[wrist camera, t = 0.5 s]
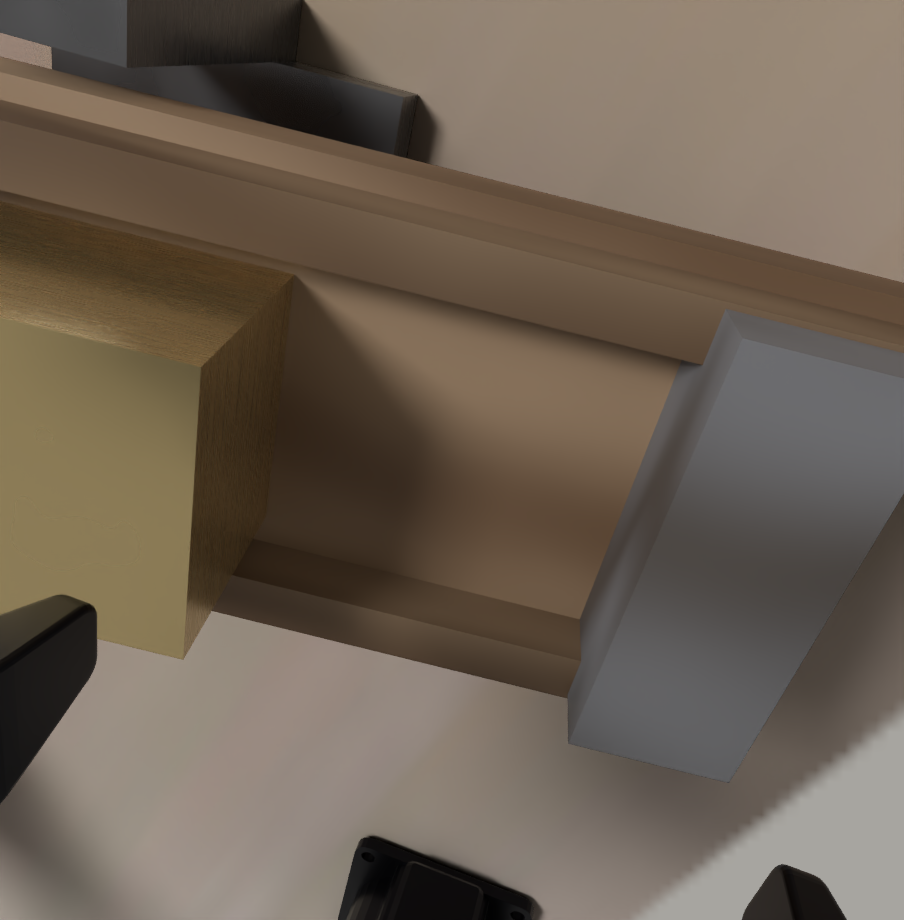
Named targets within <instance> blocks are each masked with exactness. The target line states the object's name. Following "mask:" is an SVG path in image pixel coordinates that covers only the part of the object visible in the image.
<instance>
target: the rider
mask: <svg viewBox="0 0 904 920" xmlns="http://www.w3.org/2000/svg"><path fill="white" fill-rule="evenodd" d="M293 282H294V274H291V273H287V272H283V271H279V270H275V269H271V268H267V267H263V266H259V265H255V264H251V263H247V262H243V261H239V260H235V259H231V258H227V257H223V256H219V255H215V254H211V253H207V252H203V251H199V250H195V249H191V248H187V247H183V246H179V245H175V244H171V243H167V242H163V241H159V240H154V239H150V238H146V237H142V236H138V235H134V234H130V233H126V232H122V231H118V230H114V229H110V228H106V227H102V226H98V225H94V224H90V223H86V222H82V221H78V220H74V219H70V218H66V217H62V216H58V215H54V214H50V213H46V212H42V211H38V210H34V209H30V208H26V207H22V206H18V205H14V204H10V203H6V202H2V201H0V615H1V614H3V613H6V612H9V611H12V610H15V609H17V608H20V607H23V606H26V605H29V604H31V603H34V602H37V601H40V600H43V599H45V598H48V597H51V596H54V595H60V594H63V595H68V596H71V597H74V598H76V599H79V600H82V601H84V602H87V603H90V604H91V605H93V606H94V607H95V609H96V611H97V639H101V640H105V641H109V642H113V643H117V644H121V645H125V646H129V647H133V648H137V649H142V650H146V651H150V652H154V653H158V654H162V655H166V656H170V657H174V658H178V659H182V660H183V659H184V657H185V656H186V654H187V652H188V651H189V649H190V647H191V645H192V644H193V642H194V640H195V638H196V637H197V635H198V633H199V632H200V630H201V628H202V626H203V625H204V623H205V621H206V619H207V618H208V616H209V614H210V613H211V611H212V609H213V607H214V606H215V604H216V602H217V600H218V599H219V597H220V595H221V594H222V592H223V590H224V588H225V587H226V585H227V583H228V581H229V580H230V578H231V576H232V574H233V573H234V571H235V569H236V568H237V566H238V564H239V562H240V561H241V559H242V557H243V555H244V554H245V552H246V550H247V549H248V547H249V545H250V543H251V542H252V540H253V538H254V536H255V535H256V533H257V531H258V530H259V528H260V526H261V524H262V523H263V521H264V519H265V517H266V510H267V502H268V493H269V485H270V477H271V468H272V460H273V451H274V443H275V434H276V426H277V417H278V409H279V400H280V392H281V384H282V375H283V367H284V358H285V350H286V341H287V333H288V324H289V316H290V307H291V299H292V291H293Z"/></svg>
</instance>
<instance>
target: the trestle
mask: <svg viewBox="0 0 904 920" xmlns="http://www.w3.org/2000/svg"><path fill="white" fill-rule="evenodd" d="M301 5H302V0H0V33H4V34H7V35H11V36H14V37H18V38H22V39H25V40H29V41H32V42H36V43H40V44H43V45H47V46H50V47H51V48H52V70H56V71H60V72H64V73H68V74H72V75H76V76H80V77H84V78H88V79H92V80H96V81H100V82H104V83H108V84H112V85H116V86H120V87H124V88H128V89H132V90H136V91H140V92H144V93H148V94H152V95H156V96H160V97H164V98H168V99H172V100H176V101H180V102H184V103H188V104H192V105H196V106H200V107H204V108H208V109H212V110H216V111H220V112H224V113H228V114H232V115H236V116H239V117H243V118H247V119H251V120H255V121H259V122H263V123H267V124H271V125H275V126H279V127H283V128H287V129H291V130H295V131H299V132H303V133H307V134H311V135H315V136H319V137H323V138H327V139H331V140H335V141H339V142H343V143H347V144H351V145H355V146H359V147H363V148H367V149H371V150H375V151H379V152H383V153H387V154H391V155H395V156H399V157H403V158H407V153H408V147H409V141H410V136H411V130H412V124H413V119H414V113H415V108H416V102H417V96H418V94H414V93H410V92H407V91H403V90H399V89H396V88H392V87H388V86H384V85H381V84H377V83H373V82H370V81H366V80H362V79H359V78H355V77H351V76H348V75H344V74H340V73H336V72H333V71H329V70H325V69H322V68H318V67H314V66H311V65H307V64H303V63H299V62H296V52H297V43H298V33H299V24H300V14H301Z"/></svg>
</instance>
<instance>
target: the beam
mask: <svg viewBox="0 0 904 920" xmlns="http://www.w3.org/2000/svg"><path fill="white" fill-rule="evenodd" d="M0 201H2V202H6V203H10V204H14V205H18V206H22V207H26V208H30V209H34V210H38V211H42V212H46V213H50V214H54V215H58V216H62V217H66V218H70V219H74V220H78V221H82V222H86V223H90V224H94V225H98V226H102V227H106V228H110V229H114V230H118V231H122V232H126V233H130V234H134V235H138V236H142V237H146V238H150V239H154V240H159V241H163V242H167V243H171V244H175V245H179V246H183V247H187V248H191V249H195V250H199V251H203V252H207V253H211V254H215V255H219V256H223V257H227V258H231V259H235V260H239V261H243V262H247V263H251V264H255V265H259V266H263V267H267V268H271V269H275V270H279V271H283V272H287V273H291V274H294V282H293V291H292V299H291V307H290V316H289V324H288V333H287V341H286V350H285V358H284V367H283V375H282V384H281V392H280V400H279V409H278V417H277V426H276V434H275V443H274V451H273V460H272V468H271V477H270V485H269V493H268V502H267V510H266V517H265V519H264V521H263V523H262V524H261V526H260V528H259V530H258V531H257V533H256V535H255V536H254V538H253V540H252V542H251V543H250V545H249V547H248V549H247V550H246V552H245V554H244V555H243V557H242V559H241V561H240V562H239V564H238V566H237V568H236V569H235V571H234V573H233V574H232V576H231V578H230V580H229V581H228V583H227V585H226V587H225V588H224V590H223V592H222V594H221V595H220V597H219V599H218V600H217V602H216V604H215V606H214V607H213V609H212V611H215V612H219V613H223V614H227V615H231V616H235V617H239V618H243V619H247V620H251V621H255V622H259V623H263V624H268V625H272V626H276V627H280V628H284V629H288V630H292V631H296V632H300V633H304V634H308V635H312V636H316V637H320V638H324V639H328V640H333V641H337V642H341V643H345V644H349V645H353V646H357V647H361V648H365V649H369V650H373V651H377V652H381V653H385V654H389V655H393V656H398V657H402V658H406V659H410V660H414V661H418V662H422V663H426V664H430V665H434V666H438V667H442V668H446V669H450V670H454V671H458V672H463V673H467V674H471V675H475V676H479V677H483V678H487V679H491V680H495V681H499V682H503V683H507V684H511V685H515V686H519V687H523V688H528V689H532V690H536V691H540V692H544V693H548V694H552V695H556V696H560V697H564V698H568V744H572V745H576V746H580V747H584V748H588V749H592V750H597V751H601V752H605V753H609V754H613V755H617V756H621V757H625V758H629V759H633V760H637V761H641V762H645V763H649V764H654V765H658V766H662V767H666V768H670V769H674V770H678V771H682V772H686V773H690V774H694V775H698V776H702V777H706V778H710V779H715V780H719V781H723V782H727V783H729V782H730V780H731V779H732V777H733V775H734V774H735V772H736V771H737V769H738V767H739V766H740V764H741V762H742V761H743V759H744V757H745V756H746V754H747V752H748V751H749V749H750V747H751V746H752V744H753V742H754V741H755V739H756V737H757V736H758V734H759V732H760V731H761V729H762V727H763V726H764V724H765V722H766V721H767V719H768V718H769V716H770V714H771V713H772V711H773V709H774V708H775V706H776V704H777V703H778V701H779V699H780V698H781V696H782V694H783V693H784V691H785V689H786V688H787V686H788V684H789V683H790V681H791V679H792V678H793V676H794V674H795V673H796V671H797V670H798V668H799V666H800V665H801V663H802V661H803V660H804V658H805V656H806V655H807V653H808V651H809V650H810V648H811V646H812V645H813V643H814V641H815V640H816V638H817V636H818V635H819V633H820V631H821V630H822V628H823V626H824V625H825V623H826V622H827V620H828V618H829V617H830V615H831V613H832V612H833V610H834V608H835V607H836V605H837V603H838V602H839V600H840V598H841V597H842V595H843V593H844V592H845V590H846V588H847V587H848V585H849V583H850V582H851V580H852V578H853V577H854V575H855V573H856V572H857V570H858V569H859V567H860V565H861V564H862V562H863V560H864V559H865V557H866V555H867V554H868V552H869V550H870V549H871V547H872V545H873V544H874V542H875V540H876V539H877V537H878V535H879V534H880V532H881V530H882V529H883V527H884V525H885V524H886V522H887V521H888V519H889V517H890V516H891V514H892V512H893V511H894V509H895V507H896V506H897V504H898V502H899V501H900V499H901V497H902V496H903V494H904V283H902V282H898V281H894V280H890V279H886V278H882V277H878V276H874V275H870V274H866V273H862V272H858V271H854V270H850V269H846V268H842V267H838V266H834V265H830V264H826V263H822V262H818V261H814V260H810V259H806V258H802V257H798V256H794V255H790V254H786V253H782V252H778V251H774V250H770V249H766V248H762V247H758V246H754V245H750V244H746V243H742V242H739V241H735V240H731V239H727V238H723V237H719V236H715V235H711V234H707V233H703V232H699V231H695V230H691V229H687V228H683V227H679V226H675V225H671V224H667V223H663V222H659V221H655V220H651V219H647V218H643V217H639V216H635V215H631V214H627V213H623V212H619V211H615V210H611V209H607V208H603V207H599V206H595V205H591V204H587V203H583V202H579V201H575V200H571V199H567V198H563V197H559V196H555V195H551V194H547V193H543V192H539V191H535V190H531V189H527V188H523V187H519V186H515V185H511V184H507V183H503V182H499V181H495V180H491V179H487V178H483V177H479V176H475V175H471V174H467V173H463V172H459V171H455V170H451V169H447V168H443V167H439V166H435V165H431V164H427V163H423V162H419V161H415V160H411V159H407V158H403V157H399V156H395V155H391V154H387V153H383V152H379V151H375V150H371V149H367V148H363V147H359V146H355V145H351V144H347V143H343V142H339V141H335V140H331V139H327V138H323V137H319V136H315V135H311V134H307V133H303V132H299V131H295V130H291V129H287V128H283V127H279V126H275V125H271V124H267V123H263V122H259V121H255V120H251V119H247V118H243V117H239V116H236V115H232V114H228V113H224V112H220V111H216V110H212V109H208V108H204V107H200V106H196V105H192V104H188V103H184V102H180V101H176V100H172V99H168V98H164V97H160V96H156V95H152V94H148V93H144V92H140V91H136V90H132V89H128V88H124V87H120V86H116V85H112V84H108V83H104V82H100V81H96V80H92V79H88V78H84V77H80V76H76V75H72V74H68V73H64V72H60V71H56V70H52V69H48V68H44V67H40V66H36V65H32V64H28V63H24V62H20V61H16V60H12V59H8V58H4V57H0Z"/></svg>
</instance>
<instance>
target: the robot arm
mask: <svg viewBox="0 0 904 920" xmlns="http://www.w3.org/2000/svg"><path fill="white" fill-rule="evenodd" d="M96 661H97V611H96V609H95V607H94V606H93V605H91V604H90V603H87V602H84V601H82V600H79V599H76V598H74V597H71V596H68V595H63V594H60V595H54V596H51V597H48V598H45V599H43V600H40V601H37V602H34V603H31V604H29V605H26V606H23V607H20V608H17V609H15V610H12V611H9V612H6V613H3V614H1V615H0V804H1V802H2V801H3V800H4V799H5V798H6V796H7V795H8V794H9V792H10V791H11V790H12V788H13V787H14V785H15V784H16V783H17V781H18V780H19V779H20V777H21V776H22V775H23V773H24V772H25V770H26V769H27V767H28V766H29V764H30V763H31V762H32V760H33V759H34V757H35V756H36V754H37V753H38V751H39V750H40V749H41V747H42V746H43V744H44V743H45V741H46V740H47V739H48V737H49V736H50V734H51V733H52V731H53V730H54V728H55V727H56V726H57V724H58V723H59V721H60V720H61V718H62V717H63V716H64V714H65V713H66V711H67V710H68V708H69V707H70V705H71V704H72V703H73V701H74V700H75V698H76V697H77V695H78V694H79V693H80V691H81V690H82V688H83V687H84V685H85V684H86V682H87V681H88V679H89V678H90V676H91V674H92V672H93V670H94V668H95V665H96ZM533 910H534V907H533V905H532V903H531V902H530V901H529V900H527V899H526V898H524V897H521V896H519V895H516V894H514V893H511V892H509V891H506V890H504V889H501V888H498V887H496V886H493V885H491V884H488V883H486V882H483V881H481V880H478V879H476V878H473V877H470V876H468V875H465V874H463V873H460V872H458V871H455V870H453V869H450V868H447V867H445V866H442V865H440V864H437V863H435V862H432V861H430V860H427V859H425V858H422V857H419V856H417V855H414V854H412V853H409V852H407V851H404V850H402V849H399V848H397V847H394V846H391V845H389V844H386V843H384V842H381V841H379V840H376V839H373V838H363V839H361V840H360V841H359V843H358V846H357V848H356V851H355V854H354V858H353V862H352V866H351V870H350V873H349V877H348V881H347V885H346V889H345V893H344V897H343V901H342V905H341V909H340V913H339V917H338V920H532V916H533ZM742 920H847V919H846V918H845V916H844V914H843V913H842V911H841V909H840V908H839V906H838V904H837V902H836V901H835V899H834V897H833V896H832V894H831V892H830V891H829V889H828V888H827V886H826V885H825V884H824V882H823V881H822V880H821V879H820V878H818V877H816V876H814V875H812V874H809V873H807V872H804V871H801V870H799V869H796V868H793V867H791V866H788V865H783V864H781V865H778V866H777V867H775V868H774V869H773V870H772V871H771V873H770V874H769V876H768V877H767V879H766V880H765V881H764V883H763V884H762V886H761V887H760V889H759V890H758V892H757V893H756V894H755V896H754V897H753V899H752V900H751V902H750V903H749V904H748V906H747V908H746V910H745V912H744V914H743V918H742Z"/></svg>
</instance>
